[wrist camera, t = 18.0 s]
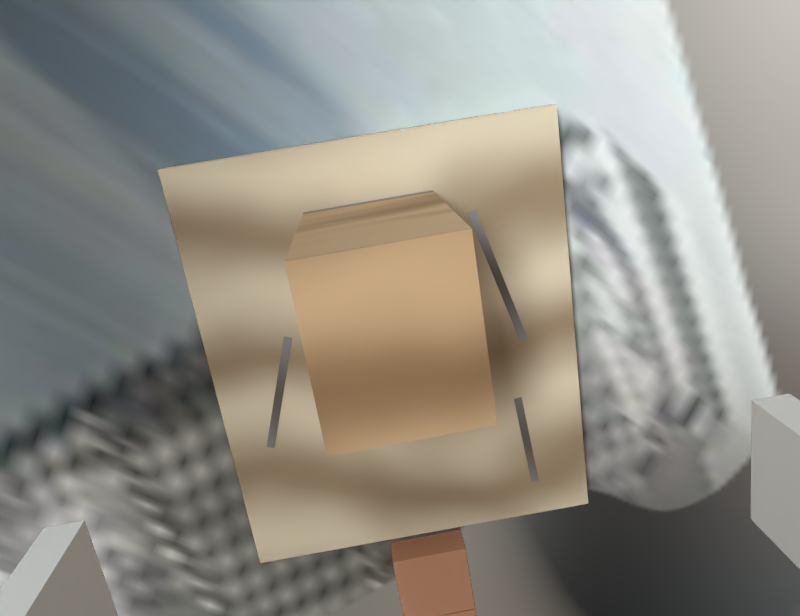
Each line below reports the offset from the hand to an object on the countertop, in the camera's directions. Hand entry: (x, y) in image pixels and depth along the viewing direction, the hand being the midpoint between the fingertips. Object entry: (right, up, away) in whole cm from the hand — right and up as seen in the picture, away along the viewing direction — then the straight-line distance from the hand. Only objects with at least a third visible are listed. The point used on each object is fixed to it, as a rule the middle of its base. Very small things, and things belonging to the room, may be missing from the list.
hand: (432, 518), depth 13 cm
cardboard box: (-2, +6, +18) cm, 19 cm away
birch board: (-1, +2, +21) cm, 21 cm away
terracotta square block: (+1, -10, +25) cm, 27 cm away
